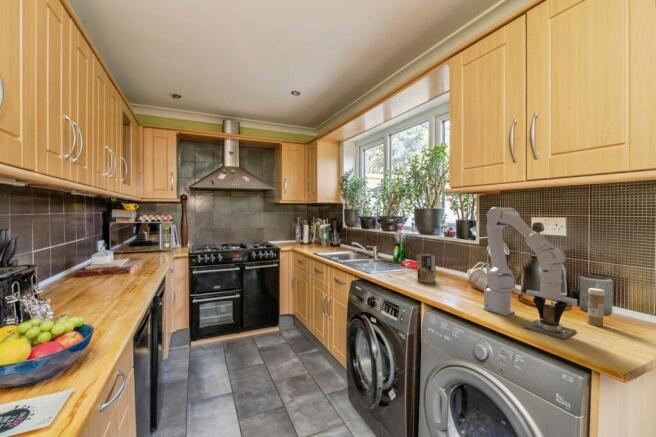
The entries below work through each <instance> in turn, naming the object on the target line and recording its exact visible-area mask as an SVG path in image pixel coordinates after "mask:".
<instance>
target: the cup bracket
mask: <svg viewBox="0 0 656 437" xmlns="http://www.w3.org/2000/svg"><path fill="white" fill-rule="evenodd" d="M536 325H537V326H536ZM523 329H526V330H529V331H532V330H533V332H536V331H537V333H539V332H540V334H542V333H543V334H544V335H546V336H550V337H552V338H556V339H560V340H563V339H564V340H563V341H566V340H567V339H568V338H570V337H571V336H572V335H574V334H575V333H576V332H577V329H575V328H570V327H566V326H564V325H563V324H562V323H561V322H559V323H557V326H551V325H547V324H543V319H540V318H539V319H535V320H533V321H530V322H529V323H527V324H525V325H524V326H523ZM565 330H566V331H565ZM561 333H562V334H561ZM543 334H542V335H543ZM569 336H570V337H569ZM566 338H567V339H566ZM565 339H566V340H565Z"/></svg>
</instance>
